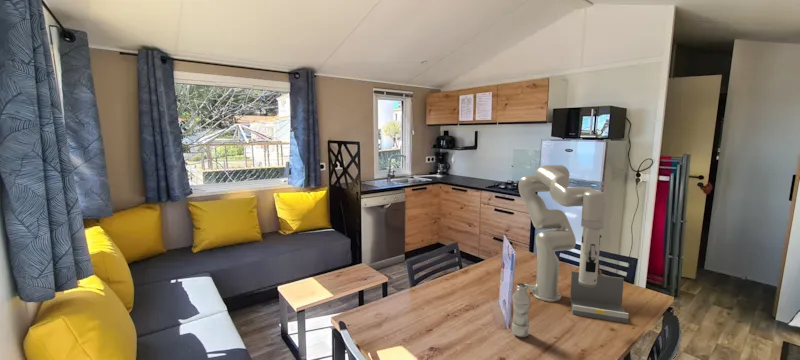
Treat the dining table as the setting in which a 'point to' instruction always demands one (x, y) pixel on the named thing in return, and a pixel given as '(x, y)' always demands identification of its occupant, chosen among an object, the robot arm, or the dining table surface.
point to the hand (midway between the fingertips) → (589, 267)
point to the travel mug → (585, 277)
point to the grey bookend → (598, 298)
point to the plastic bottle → (521, 311)
